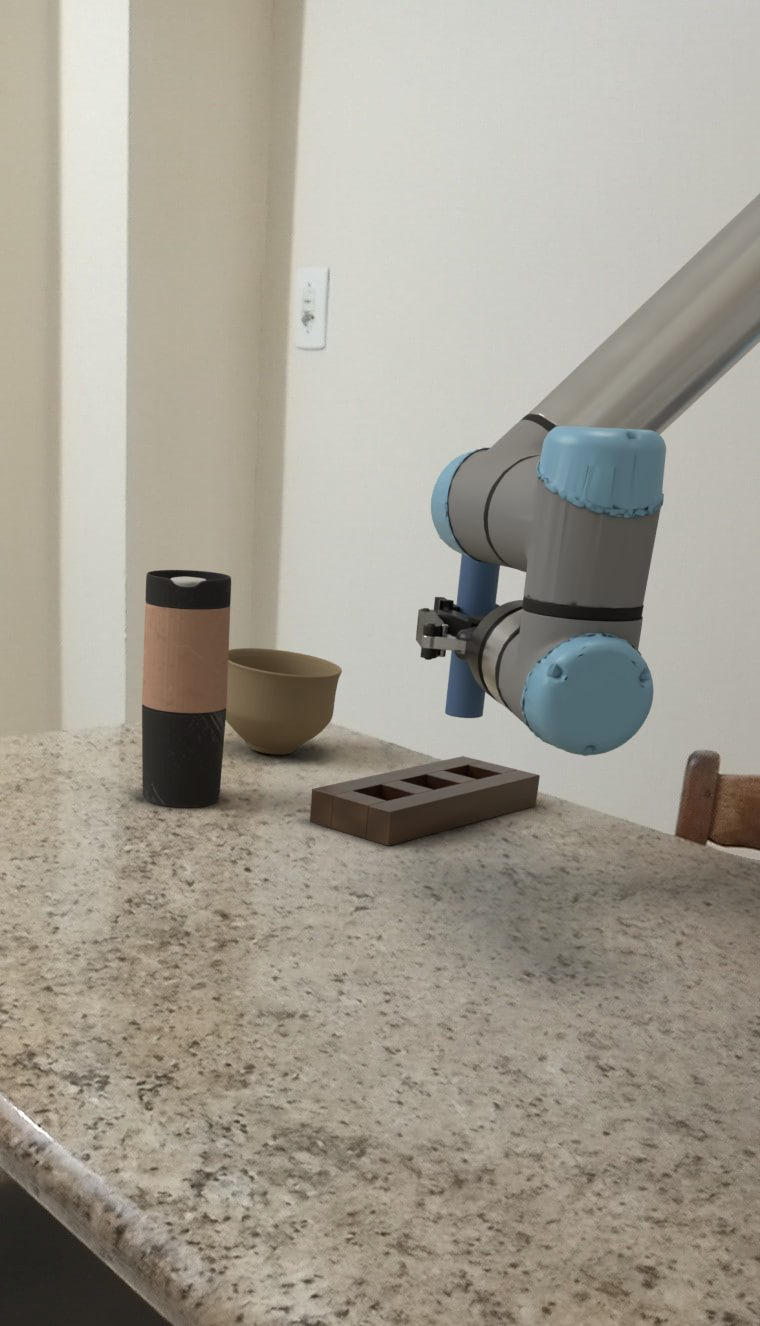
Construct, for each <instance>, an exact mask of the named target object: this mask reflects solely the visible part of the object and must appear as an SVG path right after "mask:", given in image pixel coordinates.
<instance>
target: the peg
mask: <svg viewBox="0 0 760 1326" xmlns="http://www.w3.org/2000/svg"><path fill="white" fill-rule="evenodd" d="M500 570H501V565H496V564H485V563H478V562H477V561H475V560H471V559H470V558H469V557H467V556H465V555H463V554H461V557H460V566H459V576H458V586H457V593H456V594H457V596H456V603H455V605H457V606H459V607H460V613H462V614H465V615H467V616H471V615H477V616H487V615H488V614H489V613H490V612H491V611H493V610H494V609H495V605H496V604H497V595H498V587H499V579H500ZM450 651H451V652H450V661H449V669H448V670H449V671H448V681H447V688H446V689H447V690H446V698H445V699H446V700H445V707H444V708H445V710H444V713H445V715H447V716H449V717H454V718H458V719H459V718H461V719H479V718H481V717H483V715H484V709H485V708H484V707H485V699H486V692H485V691H484V690H483V689H482V688H481V687H480V686H479V685H478V683H477V682H476V680H475V678H474V676H473V674H472V672H471V669H470V666H469V663H468V661H464V660H461V659H459V658H457V657H456V655H455V651H452V650H450Z"/></svg>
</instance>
